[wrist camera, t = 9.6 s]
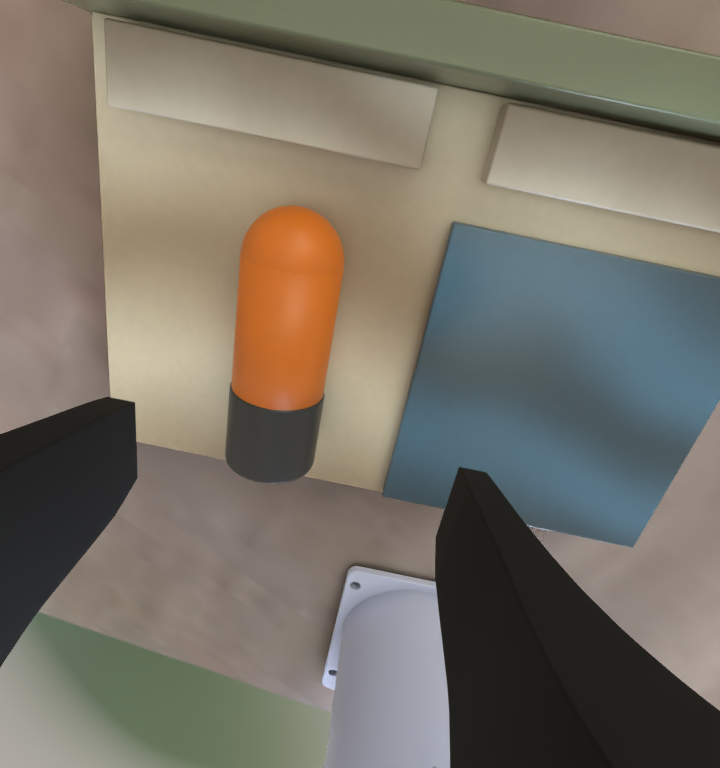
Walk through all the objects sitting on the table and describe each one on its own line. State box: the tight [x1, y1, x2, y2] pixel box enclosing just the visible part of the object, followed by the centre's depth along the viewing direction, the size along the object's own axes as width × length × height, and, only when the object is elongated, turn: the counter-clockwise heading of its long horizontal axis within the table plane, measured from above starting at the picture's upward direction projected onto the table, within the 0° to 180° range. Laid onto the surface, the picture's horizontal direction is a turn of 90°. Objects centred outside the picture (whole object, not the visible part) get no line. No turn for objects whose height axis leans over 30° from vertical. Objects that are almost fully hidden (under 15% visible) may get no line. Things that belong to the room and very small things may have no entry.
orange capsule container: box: [225, 205, 344, 484], centre depth 15 cm, size 9×3×3 cm
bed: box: [63, 0, 720, 547], centre depth 16 cm, size 15×22×5 cm
